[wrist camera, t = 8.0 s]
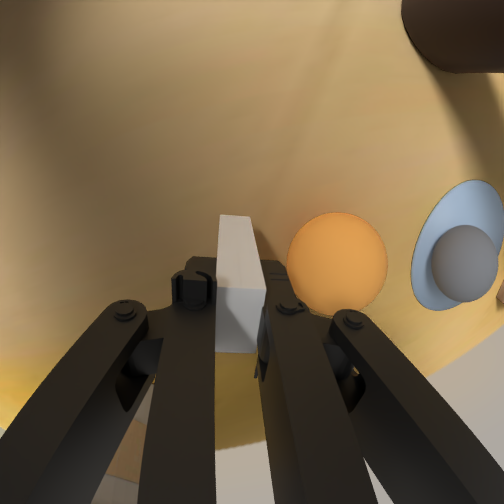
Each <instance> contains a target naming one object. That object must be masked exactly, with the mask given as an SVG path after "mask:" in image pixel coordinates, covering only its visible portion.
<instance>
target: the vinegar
mask: <svg viewBox="0 0 504 504" xmlns="http://www.w3.org/2000/svg"><path fill="white" fill-rule="evenodd" d="M401 13H402V17H403V21H404V25H405V27H406V29H407V31H408V33H409V35H410V38H411V40H412V41H413V42H414V44H415V45H416V47H417V48H418V49H419V51H420V52H421V53H422V54H423V55H424V56H425V57H426V58H427V59H428V60H429V61H430V62H431V63H432V64H434V65H435V66H437V67H439V68H440V69H442V70H444V71H448V72H452V73H504V0H402V8H401Z"/></svg>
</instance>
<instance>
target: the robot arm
mask: <svg viewBox="0 0 504 504" xmlns="http://www.w3.org/2000/svg"><path fill="white" fill-rule="evenodd" d="M171 281H172V305H170V306H169V307H166V308H164V309H160V310H154V311H147V310H146V307H145V306H144V305H143V304H142V303H140V302H138V301H135V300H119V301H117V302H114V303H112V304H111V305H109V306H108V307H107V308H106V309H105V310H104V311H103V312H102V313H101V314H100V315H99V316H98V318H97V319H96V320H95V321H94V322H93V323H92V324H91V325H90V326H89V327H88V329H87V330H86V331H85V332H84V333H83V334H82V335H81V337H80V338H79V339H78V340H77V341H76V342H75V343H74V345H73V346H72V347H71V348H70V349H69V350H68V352H67V353H66V354H65V355H64V356H63V357H62V359H61V360H60V361H59V362H58V363H57V365H56V366H55V367H54V368H53V369H52V371H51V372H50V373H49V374H48V376H47V377H46V378H45V379H44V381H43V382H42V383H41V384H40V386H39V387H38V388H37V389H36V391H35V392H34V393H33V395H32V396H31V397H30V398H29V400H28V401H27V402H26V404H25V405H24V406H23V408H22V409H21V410H20V412H19V413H18V415H17V416H16V417H15V419H14V420H13V421H12V423H11V424H10V426H9V427H8V428H7V430H6V431H5V433H4V434H3V436H2V437H1V439H0V504H91V502H92V500H93V498H94V496H95V494H96V491H97V489H98V487H99V485H100V483H101V481H102V479H103V477H104V475H105V473H106V471H107V469H108V467H109V465H110V463H111V461H112V459H113V457H114V455H115V453H116V451H117V449H118V447H119V445H120V443H121V441H122V439H123V437H124V435H125V433H126V431H127V430H128V428H129V426H130V424H131V422H132V420H133V418H134V416H135V414H136V412H137V410H138V408H139V406H140V405H141V403H142V401H143V399H144V397H145V395H146V393H147V391H148V389H149V388H150V386H151V384H152V382H153V380H154V378H155V375H156V378H155V383H154V388H153V393H152V399H151V404H150V410H149V416H148V422H147V428H146V434H145V441H144V448H143V455H142V463H141V471H140V479H139V488H138V498H137V504H216V478H215V422H214V387H215V352H226V353H256V348H257V346H258V359H257V364H256V369H255V375H254V378H257V376H258V380H259V387H260V395H261V403H262V411H263V419H264V426H265V434H266V441H267V449H268V456H269V463H270V471H271V479H272V486H273V493H274V500H275V504H378V502H377V498H376V495H375V492H374V489H373V485H372V482H371V479H370V476H369V473H368V470H367V467H366V464H365V461H364V459H365V460H366V462H367V463H368V465H369V467H370V468H371V470H372V471H373V473H374V474H375V476H376V477H377V479H378V480H379V482H380V483H381V485H382V486H383V488H384V489H385V491H386V492H387V494H388V495H389V497H390V498H391V500H392V501H393V503H394V504H504V471H503V470H502V468H501V467H500V466H499V465H498V463H497V462H496V461H495V459H494V458H493V457H492V456H491V454H490V453H489V452H488V451H487V449H486V448H485V447H484V446H483V445H482V443H481V442H480V441H479V440H478V439H477V437H476V436H475V435H474V434H473V432H472V431H471V430H470V429H469V428H468V426H467V425H466V424H465V423H464V422H463V421H462V419H461V418H460V417H459V416H458V415H457V414H456V412H455V411H454V410H453V409H452V408H451V407H450V405H449V404H448V403H447V402H446V401H445V400H444V399H443V397H441V395H440V394H439V393H438V392H437V391H436V390H435V388H434V387H433V386H432V385H431V384H430V383H429V382H428V381H427V379H426V378H425V377H424V376H423V375H422V374H421V373H420V372H419V371H418V370H417V368H416V367H415V366H414V365H413V364H412V363H411V362H410V361H409V360H408V359H407V358H406V356H405V355H404V354H403V353H402V352H401V351H400V350H399V349H398V348H397V347H396V346H395V345H394V344H393V343H392V341H391V340H390V339H389V338H388V337H387V336H386V335H385V334H384V333H383V332H382V331H381V330H380V329H379V328H378V327H377V326H376V325H375V324H374V323H373V322H372V321H371V319H370V318H369V317H367V316H366V315H365V314H363V313H361V312H359V311H357V310H353V309H341V310H339V311H337V312H336V313H335V314H334V316H333V319H330V318H325V317H320V316H317V315H313V314H311V313H310V311H309V308H308V307H307V305H306V304H305V303H304V302H303V301H301V300H300V299H297V298H296V295H295V292H294V290H293V287H292V284H291V282H290V279H289V276H288V274H287V271H286V268H285V267H284V266H283V265H282V264H281V263H280V262H279V261H274V260H260V259H259V254H258V250H257V246H256V241H255V237H254V233H253V228H252V224H251V219H250V217H247V216H233V215H220V222H219V236H218V250H217V258H211V257H196V256H193V257H192V258H190V259H189V260H188V261H187V262H186V266H185V270H182V271H179V272H177V273H176V274H174V275H173V277H172V278H171ZM354 367H355V368H356V369H357V370H358V371H359V374H357V373H356V372H355V371H354ZM363 457H364V458H363Z"/></svg>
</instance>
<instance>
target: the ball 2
mask: <svg viewBox="0 0 504 504" xmlns="http://www.w3.org/2000/svg"><path fill="white" fill-rule="evenodd" d="M431 268H432V274H433V278H434V281H435V283H436V285H437V287H438V288H439V290H440V291H441V292H442V293H443V294H444V295H445V296H446V297H448V298H449V299H451V300H454V301H457V302H472V301H474V300H477V299H479V298H481V297H482V296H483V295H484V294H486V293H487V292H488V290H489V289H490V288H491V286H492V285H493V283H494V281H495V278H496V275H497V271H498V255H497V251H496V248H495V245H494V243H493V241H492V240H491V238H490V237H489V236H488V235H487V234H486V233H485V232H484V231H483V230H481V229H479V228H477V227H475V226H471V225H459V226H455V227H453V228H451V229H449V230H448V231H446V232H445V233H444V234H443V235H442V236H441V237H440V239H439V240H438V242H437V243H436V245H435V248H434V250H433V254H432V260H431Z"/></svg>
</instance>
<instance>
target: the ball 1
mask: <svg viewBox="0 0 504 504" xmlns="http://www.w3.org/2000/svg"><path fill="white" fill-rule="evenodd" d="M387 268H388V259H387V253H386V249H385V246H384V243H383V241H382V239H381V237H380V236H379V234H378V233H377V231H376V230H375V229H374V228H373V227H372V226H371V225H370V224H369V223H367V222H366V221H365V220H363V219H361V218H359V217H357V216H355V215H352V214H347V213H339V212H336V213H327V214H323V215H320V216H318V217H316V218H314V219H312V220H310V221H309V222H308V223H306V224H305V225H304V226H303V227H302V228H301V229H300V230H299V231H298V232H297V234H296V235H295V237H294V239H293V240H292V242H291V245H290V247H289V250H288V255H287V274H288V276H289V279H290V282H291V284H292V287H293V290H294V292H295V294H296V295H297V296H298V298H299V299H300V300H301V301H303V302H304V303H305V304H306V305H307V306H308V307H309V308H311V309H313V310H315V311H317V312H319V313H322V314H326V315H332V316H334V314H335V313H336V312H337V311H339V310H341V309H353V310H357V311H359V310H361V309H363V308H364V307H366V306H367V305H368V304H370V303H371V302H372V301H373V300H374V299H375V297H376V296H377V295H378V293H379V292H380V290H381V289H382V287H383V284H384V282H385V279H386V275H387Z"/></svg>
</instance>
